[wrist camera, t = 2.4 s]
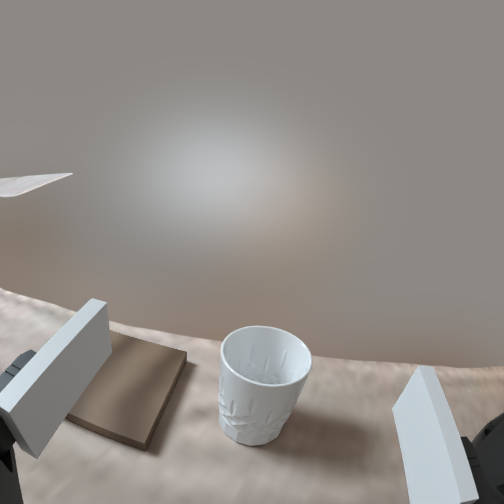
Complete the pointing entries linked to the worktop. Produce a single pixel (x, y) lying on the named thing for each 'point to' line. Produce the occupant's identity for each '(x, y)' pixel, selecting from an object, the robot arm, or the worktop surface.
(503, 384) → the worktop surface
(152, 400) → the board
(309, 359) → the white cup
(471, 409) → the worktop surface
